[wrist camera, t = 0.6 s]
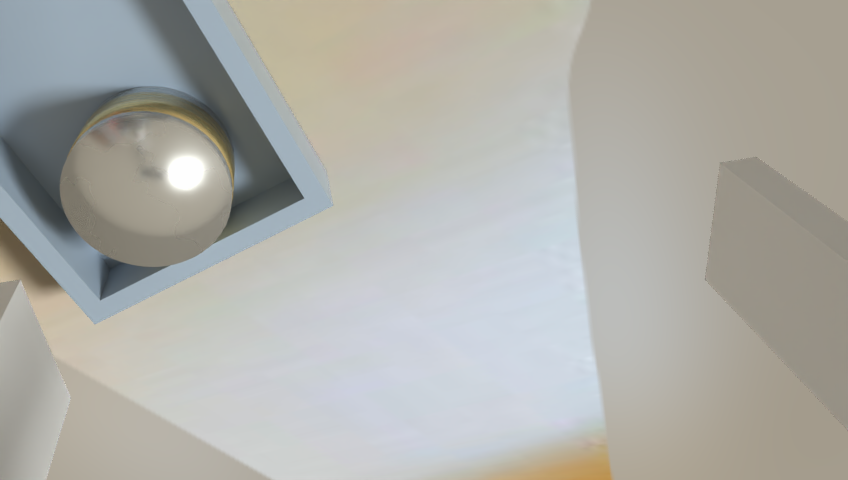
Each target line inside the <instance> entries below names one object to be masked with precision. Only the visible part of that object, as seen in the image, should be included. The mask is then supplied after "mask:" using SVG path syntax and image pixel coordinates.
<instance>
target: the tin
mask: <svg viewBox="0 0 848 480" xmlns="http://www.w3.org/2000/svg"><path fill="white" fill-rule="evenodd" d="M234 159H235V158H234V149H233V144H232V140H231V138H230V135H229V133H228V131H227V129H226V127H225V125H224V124H223V122H222V121H221V120H220V118H219V117H218V116H217V115H216V114H215V113H214V112H213V111H212V109H210V108H209V107H208V106H207V105H205V104H204V103H203V102H201V101H200V100H198V99H197V98H195V97H193V96H191V95H189V94H187V93H185V92H182V91H179V90H176V89H172V88H167V87H159V86H143V87H136V88H131V89H128V90H124V91H122V92H120V93H117V94H115V95H113V96H112V97H110V98H109V99H107V100H106V101H104V102H103V103H102V104H101V105H100V106H99V107H98V108H97V109H96V110H95V111H94V112H93V114H92V115H91V117H90V118H89V119H88V120H87V122H86V123H85V125H84V126H83V128H82V130H81V131H80V133H79V135H78V137H77V139H76V140H75V142H74V144H73V146H72V147H71V150H70V152H69V154H68V156H67V159H66V162H65V164H64V166H63V169H62V173H61V177H60V197H61V202H62V206H63V209H64V212H65V214H66V217H67V218H68V220H69V222H70V224H71V225H72V227H73V228H74V229H75V231H76V232H77V233H78V234H79V236H80V237H81V238H82V239H83V240H84V241H85V242H87V243H88V244H89V245H90V246H91V247H93V248H94V249H96V250H97V251H99V252H100V253H102V254H104V255H106V256H108V257H110V258H112V259H115V260H117V261H120V262H123V263H127V264H131V265H136V266H143V267H161V266H169V265H174V264H178V263H181V262H184V261H187V260H189V259H191V258H194V257H195V256H197V255H199V254H201V253H202V252H203V251H205V250H206V249H207V248H209V247H210V246H211V245H212V244H213V243H214V242H215V241H216V240H217V238H218V237H219V236H220V234H221V233H222V231H223V230H224V228H225V226H226V224H227V221H228V218H229V215H230V211H231V205H232V200H233V191H234V176H235V161H234Z"/></svg>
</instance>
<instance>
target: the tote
mask: <svg viewBox="0 0 848 480" xmlns="http://www.w3.org/2000/svg"><path fill="white" fill-rule="evenodd" d="M143 86H159V87H167V88H172V89H176V90H179V91H182V92H185V93H187V94H189V95H191V96H193V97H195V98H197V99H198V100H200V101H201V102H203V103H204V104H205V105H207V106H208V107H209V108H210V109H212V111H213V112H214V113H215V114H216V115H217V116H218V117H219V118H220V120H221V121H222V122H223V124H224V125H225V127H226V129H227V131H228V133H229V135H230V138H231V140H232V144H233V149H234V158H235V159H234V161H235V176H234V191H233V200H232V205H231V211H230V215H229V218H228V221H227V224H226V226H225V228H224V230H223V231H222V233H221V234H220V236H219V237H218V238H217V240H216V241H215V242H214V243H213V244H212V245H211V246H210V247H209V248H207V249H206V250H205V251H203V252H202V253H201V254H199V255H197V256H195V257H194V258H191V259H189V260H187V261H184V262H181V263H178V264H174V265H169V266H161V267H143V266H136V265H131V264H127V263H123V262H120V261H117V260H115V259H112V258H110V257H108V256H106V255H104V254H102V253H100V252H99V251H97V250H96V249H94V248H93V247H91V246H90V245H89V244H88V243H87V242H85V241H84V240H83V239H82V238H81V237H80V236H79V234H78V233H77V232H76V231H75V229H74V228H73V227H72V225H71V224H70V222H69V220H68V218H67V217H66V214H65V212H64V209H63V206H62V202H61V197H60V177H61V173H62V169H63V166H64V164H65V162H66V159H67V156H68V154H69V152H70V150H71V147H72V146H73V144H74V142H75V140H76V139H77V137H78V135H79V133H80V131H81V130H82V128H83V126H84V125H85V123H86V122H87V120H88V119H89V118H90V117H91V115H92V114H93V112H94V111H95V110H96V109H97V108H98V107H99V106H100V105H101V104H102V103H103V102H104V101H106V100H107V99H109V98H110V97H112V96H113V95H115V94H117V93H120V92H122V91H124V90H128V89H131V88H136V87H143ZM332 206H333V202H332V196H331V191H330V186H329V181H328V175H327V171H326V170H325V168H324V166H323V164H322V163H321V161H320V159H319V158H318V156H317V154H316V152H315V151H314V149H313V147H312V146H311V144H310V142H309V140H308V139H307V137H306V135H305V134H304V132H303V130H302V128H301V127H300V125H299V123H298V122H297V120H296V118H295V116H294V115H293V113H292V111H291V109H290V108H289V106H288V104H287V103H286V101H285V99H284V97H283V96H282V94H281V92H280V91H279V89H278V87H277V85H276V84H275V82H274V80H273V79H272V77H271V75H270V73H269V72H268V70H267V68H266V67H265V65H264V63H263V61H262V60H261V58H260V56H259V54H258V53H257V51H256V49H255V48H254V46H253V44H252V42H251V41H250V39H249V37H248V36H247V34H246V32H245V30H244V29H243V27H242V25H241V24H240V22H239V20H238V18H237V17H236V15H235V13H234V12H233V10H232V8H231V6H230V5H229V3H228V1H227V0H0V218H1V219H2V220H3V222H4V223H5V224H6V225H7V226H8V227H9V228H10V229H11V231H12V232H13V233H14V234H15V235H16V236H17V237H18V238H19V240H20V241H21V242H22V243H23V244H24V245H25V246H26V247H27V249H28V250H29V251H30V252H31V253H32V254H33V255H34V256H35V258H36V259H37V260H38V261H39V262H40V263H41V264H42V265H43V267H44V268H45V269H46V270H47V271H48V272H49V273H50V274H51V276H52V277H53V278H54V279H55V280H56V281H57V282H58V283H59V285H60V286H61V287H62V288H63V289H64V290H65V291H66V292H67V294H68V295H69V296H70V297H71V298H72V299H73V300H74V301H75V303H76V304H77V305H78V306H79V307H80V308H81V309H82V310H83V312H84V313H85V314H86V315H87V316H88V317H89V318H90V319H91V321H92V322H93V323H94V324H97V323H99V322H101V321H103V320H105V319H107V318H109V317H111V316H113V315H115V314H117V313H119V312H121V311H123V310H125V309H127V308H129V307H131V306H133V305H135V304H137V303H139V302H141V301H143V300H145V299H147V298H149V297H151V296H153V295H155V294H157V293H159V292H161V291H163V290H165V289H167V288H169V287H171V286H173V285H175V284H177V283H179V282H181V281H183V280H185V279H187V278H189V277H191V276H193V275H195V274H197V273H199V272H201V271H203V270H205V269H207V268H209V267H211V266H213V265H215V264H217V263H219V262H221V261H223V260H225V259H227V258H229V257H231V256H233V255H235V254H237V253H239V252H241V251H243V250H245V249H247V248H249V247H251V246H253V245H255V244H257V243H259V242H261V241H263V240H265V239H267V238H269V237H271V236H273V235H275V234H277V233H279V232H281V231H283V230H285V229H287V228H289V227H291V226H293V225H295V224H297V223H299V222H301V221H303V220H305V219H307V218H309V217H311V216H313V215H315V214H317V213H319V212H321V211H323V210H325V209H327V208H329V207H332Z"/></svg>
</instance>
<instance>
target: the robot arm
mask: <svg viewBox="0 0 848 480" xmlns="http://www.w3.org/2000/svg"><path fill="white" fill-rule="evenodd" d="M705 280H706V281H707V282H708V283H709V284H710V285H711V286H712V287H713V289H715V291H716V292H717V293H718V294H719V295H720V296H721V297H722V298H723V299H724V300H725V301H726V302H727V303H728V304H729V305H730V306H731V308H732V309H733V310H734V311H735V312H736V313H737V314H738V315H739V316H740V317H741V318H742V319H743V320H744V321H745V322H746V323H747V325H748V326H749V327H750V328H751V329H752V330H753V331H754V332H755V333H756V334H757V335H758V336H759V337H760V338H761V339H762V340H763V341H764V342H765V343H766V345H767V346H768V347H769V348H770V349H771V350H772V351H773V352H774V353H775V354H776V355H777V356H778V357H779V358H780V359H781V360H782V362H784V364H785V365H786V366H787V367H788V368H789V369H790V370H791V371H792V372H793V373H794V374H795V375H796V376H797V377H798V378H799V379H800V381H801V382H802V383H803V384H804V385H805V386H806V387H807V388H808V389H809V390H810V391H811V392H812V393H813V394H814V395H815V396H816V397H817V399H818V400H819V401H820V402H821V403H822V404H823V405H824V406H825V407H826V408H827V409H828V410H829V411H830V412H831V413H832V414H833V415H834V416H835V418H836V419H837V420H838V421H839V422H840V423H841V424H842V425H843V426H844V427H845V428H846V429H847V430H848V221H847V220H845V219H844V218H842V217H841V216H839V215H838V214H837V213H835V212H834V211H832V210H831V209H830V208H828V207H827V206H825V205H824V204H822V203H821V202H819V201H818V200H817V199H815V198H814V197H812V196H811V195H810V194H808V193H807V192H805V191H804V190H802V189H801V188H800V187H798V186H797V185H795V184H794V183H793V182H791V181H790V180H788V179H787V178H786V177H784V176H783V175H781V174H780V173H778V172H777V171H776V170H774V169H773V168H771V167H770V166H769V165H767V164H766V163H764V162H763V161H761V160H760V159H759V158H757V157H752V158H746V159H740V160H734V161H728V162H722V163H720V167H719V175H718V183H717V190H716V198H715V206H714V214H713V222H712V229H711V237H710V245H709V252H708V260H707V267H706V275H705ZM70 399H71V397H70V394H69V392H68V390H67V387H66V385H65V383H64V380H63V378H62V376H61V373H60V371H59V369H58V366H57V364H56V362H55V359H54V357H53V355H52V352H51V350H50V348H49V345H48V343H47V341H46V338H45V336H44V334H43V331H42V329H41V327H40V324H39V322H38V320H37V317H36V315H35V313H34V310H33V308H32V305H31V303H30V301H29V298H28V296H27V294H26V291H25V289H24V287H23V284H22V282H21V280H15V281H9V282H3V283H0V480H46V478H47V474H48V471H49V468H50V465H51V461H52V458H53V455H54V452H55V448H56V445H57V442H58V439H59V435H60V432H61V429H62V426H63V422H64V419H65V416H66V413H67V409H68V406H69V403H70Z"/></svg>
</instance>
